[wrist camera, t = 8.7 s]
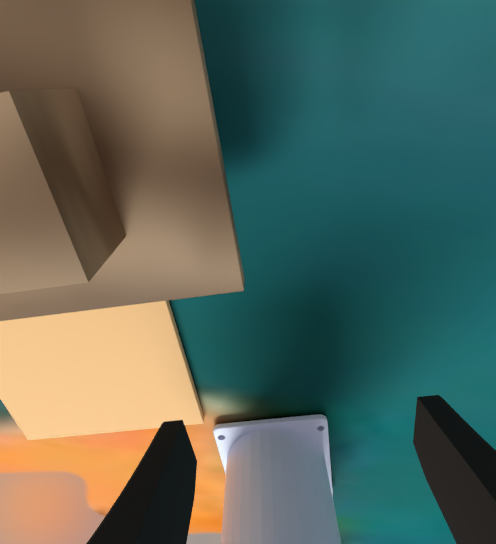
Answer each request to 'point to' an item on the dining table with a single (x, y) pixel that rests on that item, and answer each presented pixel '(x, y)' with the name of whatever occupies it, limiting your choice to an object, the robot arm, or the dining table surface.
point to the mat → (96, 372)
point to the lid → (109, 159)
